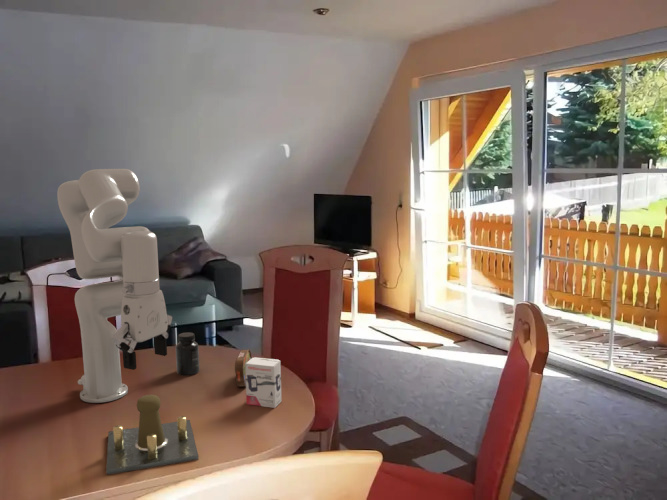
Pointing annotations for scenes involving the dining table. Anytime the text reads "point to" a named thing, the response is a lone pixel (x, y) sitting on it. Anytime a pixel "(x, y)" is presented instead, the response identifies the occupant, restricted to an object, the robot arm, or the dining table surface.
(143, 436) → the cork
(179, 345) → the supplement bottle
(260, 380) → the ink box
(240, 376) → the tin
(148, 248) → the robot arm
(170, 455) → the chassis plate
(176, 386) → the dining table surface
